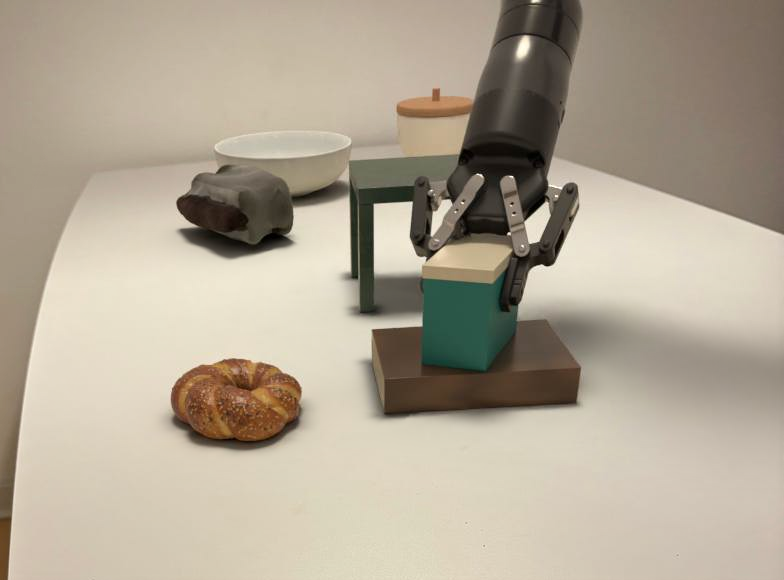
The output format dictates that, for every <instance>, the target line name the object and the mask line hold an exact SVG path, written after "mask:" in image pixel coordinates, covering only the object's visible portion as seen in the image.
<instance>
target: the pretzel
mask: <svg viewBox="0 0 784 580" xmlns="http://www.w3.org/2000/svg"><path fill="white" fill-rule="evenodd" d="M302 389H303V388H302V386H301V384H300V383H299V381H298V380H297V378H295V377H294V376H292V375H290V374H289V373H285V372H283V371H282V370H281V369H280V368H279V367H277V366H275V365H274V364H269V363H266V362H262V361H259V362H257V361H256V362H252V360H251V359H245V358H235V357H232V358H231V357H230V358H224V359H222V360H220V361H217V362H214V363H212V364H200V365H198V366H195V367H193V368H191V369H190V370H188V371H186V372H185V373H183V374H182V376H180V377H178V378H177V379H176V382H175V383H174V384H173V387H171V392H170V406H171V409H172V411H173V413H174V415H175V416H176V417H177V418H178V419H179V420H180V421H181V422H183V423H186V424H189V425H190V426H191V427H192V429H193V430H194V431H196V432H197V433H199V434H201V435H203V436H204V437H207V438H210V439H215V440H225V439H226V440H228V439H234V438H235V439H237V440H239V441H241V442H255V441H261V440H266V439H268V438H271V437H273V436H274V435H277V434H278V433H280V432H281V431H282V430H283V429H284V428H285V426H286V424H288V423H290V422H292V421H294V420H295V419H296V418H297V417H298V416H299V413H300V410H301V408H300V407H301V403H300V402H301V399H302V393H303V390H302Z"/></svg>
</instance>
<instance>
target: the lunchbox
mask: <svg viewBox="0 0 784 580" xmlns="http://www.w3.org/2000/svg"><path fill="white" fill-rule="evenodd" d="M514 253H515V251H514V247H513V242H512V238H511V234H507V236H503V235H496V234H471V235H469V236H466V237H464V238H461V239H459V240H456V239H452V240H451V241H450V242H448V243H447V244H446V245H445V246H444V247H443V248H442V249H440V250H439V251H438V252H437V253H436V254H435V255H434V256H432V257H431V258H430V259H429V260H428V261H427V262H426V261H425V262H426V263H425V262H424V263H423V264H422V265H421V277H422V278H424V279H423V294H422V323H421V326H422V357H421V364H425V365H433V366H442V367H451V368H460V369H469V370H478V371H486V370H487V369H488V367H489V366H490V365H491V363H492V362H493V361H494V359H495V358H496V357H497V355H498V354H499V353H500V351H501V350H502V349H503V348H504V346H505V345H506V344H507V342H508V341H509V340H510V338H511V337H512V336H513V334H514V333H515V332H516V327H517V321H518V314H519V305H518V306H512V310H511V312H502V311H501V307H500V304H499V299H500V294H501V290H502V286H503V282H504V278H505V274H506V270H507V267H508V264H509V260H510V258H513V257H514Z"/></svg>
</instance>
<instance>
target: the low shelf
mask: <svg viewBox="0 0 784 580" xmlns="http://www.w3.org/2000/svg"><path fill="white" fill-rule="evenodd" d="M421 357H422V325H419V326H405V327H404V326H403V327H388V328H387V327H386V328H385V327H383V328H372V329H371V364H372V368H373V373H374V377H375V380H376V385H377V388H378V394H379V397H380V401H381V406H382V410H383V413H384V414H399V413H400V414H401V413H418V412H420V413H421V412H434V411H436V412H437V411H452V410H453V411H454V410H470V409H471V410H472V409H488V408H504V407H507V408H508V407H521V406H522V407H523V406H525V407H526V406H541V405H542V406H543V405H556V404H557V405H558V404H559V405H560V404H576V403H577V401H578V394H579V387H580V380H581V372H582V367H581V365H580V364H579V363H578V361H577V360H576V358H575V357H574V355H573V354H572V353H571V351H570V350H569V349H568V347H567V346H566V345H565V343H564V342H563V341H562V339H561V337H560V336H559V335H558V334H557V332H556V330H555V329H554V328H553V325H552V324H551V323H550V322H549V321H548V319H547V318H545V319H544V318H543V319H542V318H541V319H527V320H525V319H523V320H517V327H516V332H515V333H514V334H513V336H512V337H511V338H510V340H509V341H508V342H507V344H506V345H505V346H504V348H503V349H502V350H501V351H500V353H499V354H498V355H497V357H496V358H495V359H494V361H493V362H492V363H491V365H490V366H489V367H488V369H487V370H486V371H478V370H469V369H460V368H451V367H442V366H433V365H425V364H421Z"/></svg>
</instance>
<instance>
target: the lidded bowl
mask: <svg viewBox="0 0 784 580" xmlns="http://www.w3.org/2000/svg"><path fill="white" fill-rule="evenodd" d="M431 89H432V91H431V92H432V93H431V96H422V97H421V96H420V97H413V98H408V99H404V100H401V101H399V102H397V104H396V108H395V109H396V126H397V127H396V129H397V136H398V141H399V145H400V148H401V150H402V153H403V154H404V156H405V157H419V156H436V155H453V154H460V151H461V147H462V143H463V139H464V136H465V132H466V128H467V124H468V121H469V117H470V113H471V109H472V105H473V102H474V98H470V97H467V96H465V97H464V96H455V95H454V96H453V95H451V96H449V95H441V87H433V88H431Z"/></svg>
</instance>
